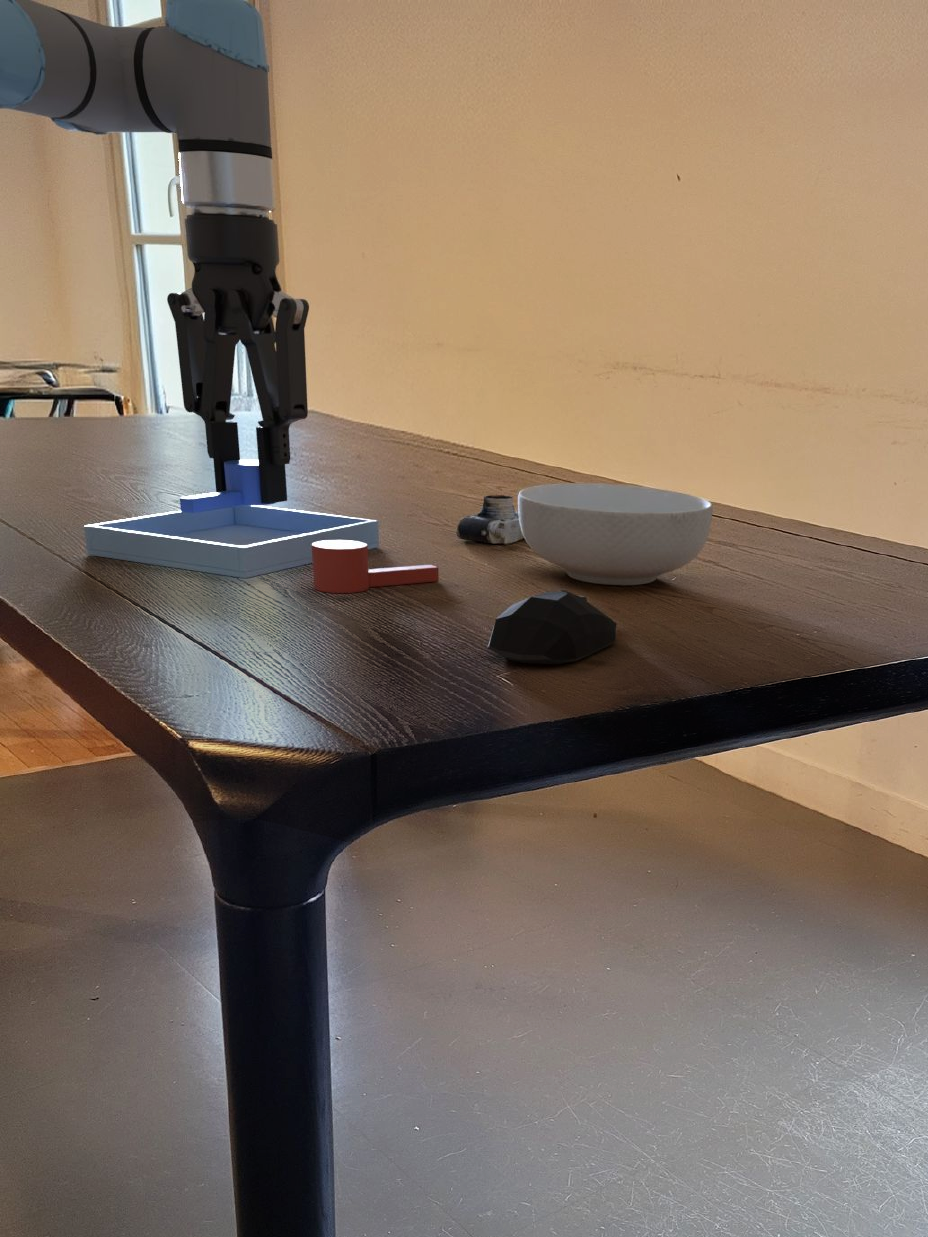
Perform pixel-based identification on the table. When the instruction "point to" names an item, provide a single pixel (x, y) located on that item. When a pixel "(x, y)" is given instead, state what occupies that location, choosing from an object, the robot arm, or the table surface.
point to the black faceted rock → (551, 629)
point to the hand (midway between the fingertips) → (252, 498)
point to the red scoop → (359, 569)
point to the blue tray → (226, 538)
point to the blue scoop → (229, 489)
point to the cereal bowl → (613, 530)
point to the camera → (492, 522)
